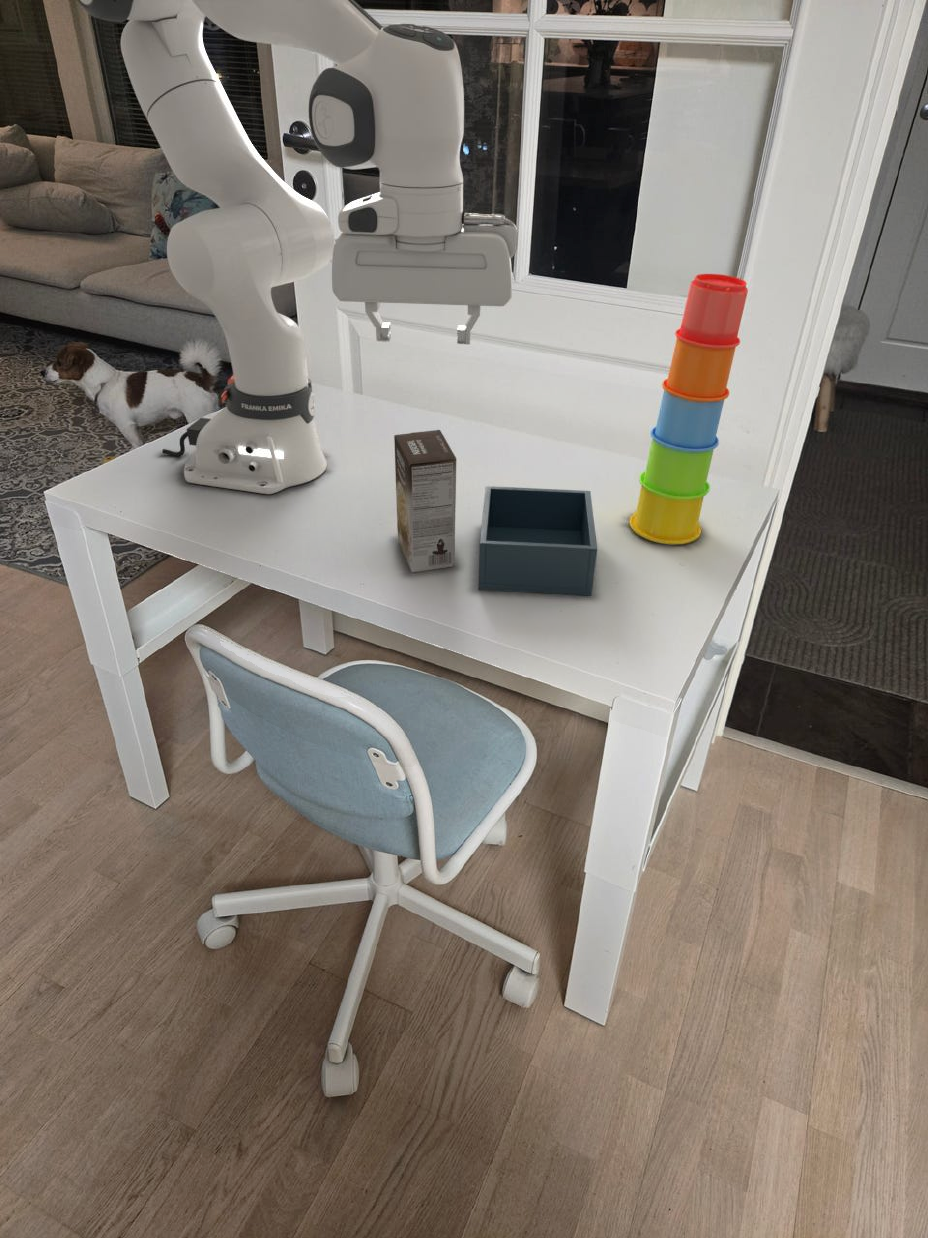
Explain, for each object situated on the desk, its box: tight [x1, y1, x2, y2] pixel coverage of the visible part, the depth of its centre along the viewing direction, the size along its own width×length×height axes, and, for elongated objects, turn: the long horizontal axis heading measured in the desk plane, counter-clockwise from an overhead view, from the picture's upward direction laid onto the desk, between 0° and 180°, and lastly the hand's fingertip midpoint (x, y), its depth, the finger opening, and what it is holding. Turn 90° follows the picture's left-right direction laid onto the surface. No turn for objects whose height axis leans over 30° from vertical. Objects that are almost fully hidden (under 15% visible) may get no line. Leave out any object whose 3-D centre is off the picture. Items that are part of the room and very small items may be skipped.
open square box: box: [477, 485, 598, 596], centre depth 110 cm, size 15×16×7 cm
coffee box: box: [393, 429, 457, 573], centre depth 108 cm, size 9×6×16 cm
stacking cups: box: [629, 273, 749, 546], centre depth 109 cm, size 10×10×35 cm
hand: (423, 341), depth 96 cm, fingers open, 8 cm apart
